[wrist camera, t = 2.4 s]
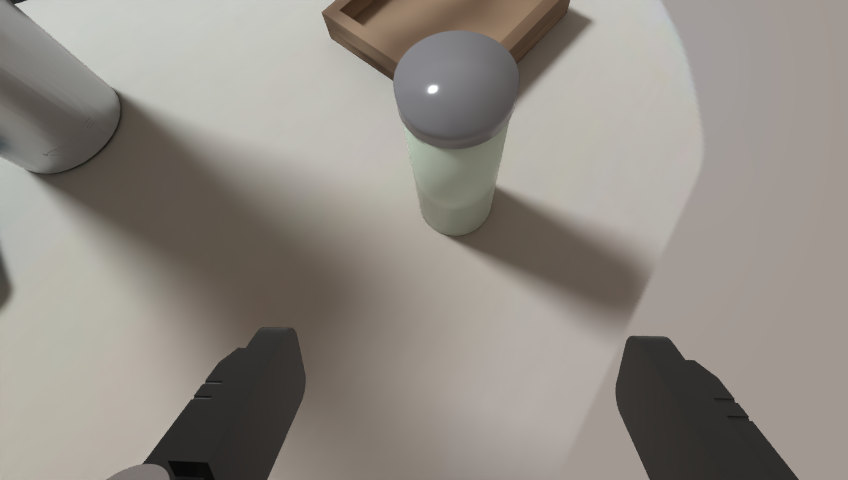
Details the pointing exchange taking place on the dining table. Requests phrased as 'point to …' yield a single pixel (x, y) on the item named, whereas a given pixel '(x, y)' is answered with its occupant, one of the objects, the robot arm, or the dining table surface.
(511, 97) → the shaker
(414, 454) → the dining table surface
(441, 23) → the tray
